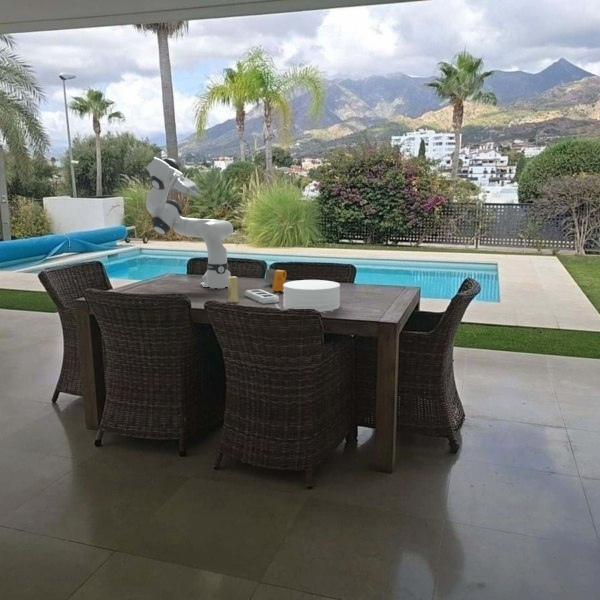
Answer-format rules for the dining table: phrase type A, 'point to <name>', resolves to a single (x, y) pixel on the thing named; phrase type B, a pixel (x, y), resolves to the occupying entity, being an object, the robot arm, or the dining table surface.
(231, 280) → the peg
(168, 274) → the dining table surface
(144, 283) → the dining table surface
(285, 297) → the plate stack
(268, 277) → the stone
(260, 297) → the white power strip
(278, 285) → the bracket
